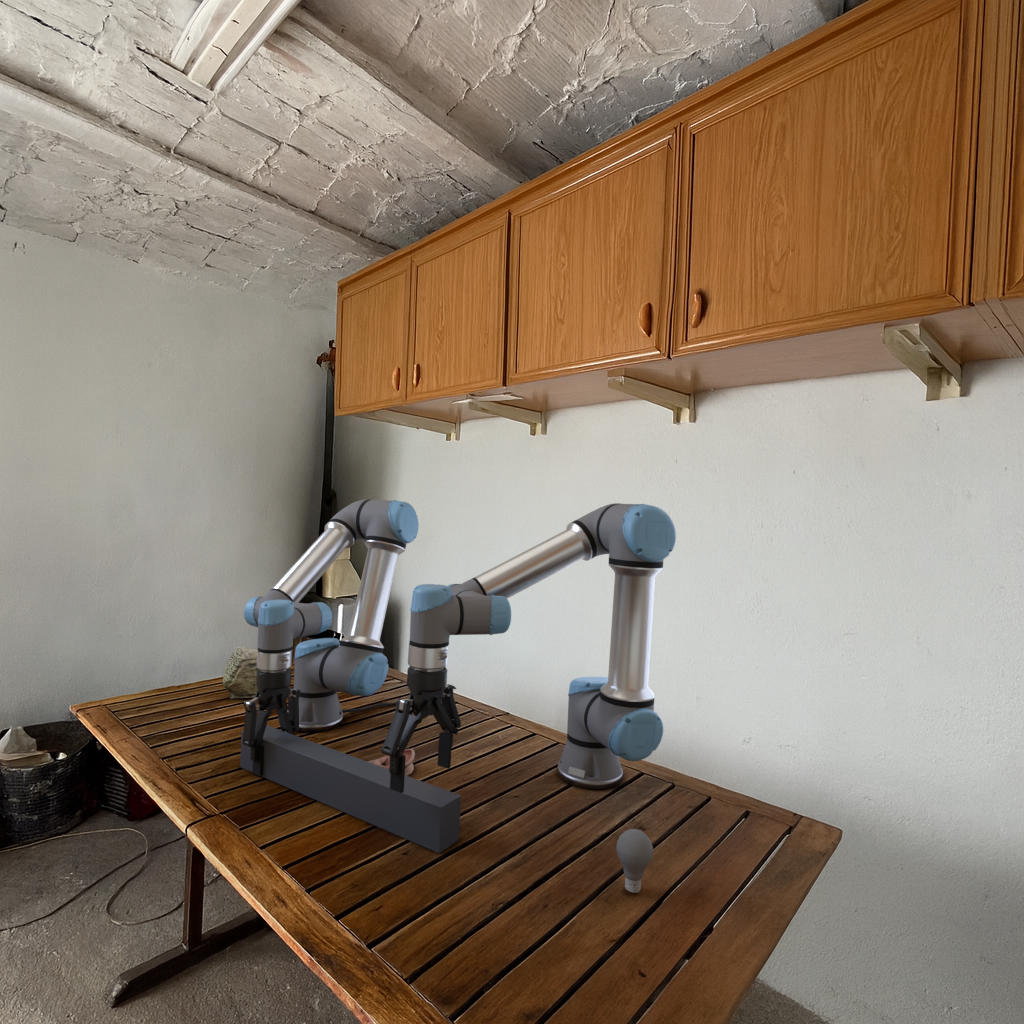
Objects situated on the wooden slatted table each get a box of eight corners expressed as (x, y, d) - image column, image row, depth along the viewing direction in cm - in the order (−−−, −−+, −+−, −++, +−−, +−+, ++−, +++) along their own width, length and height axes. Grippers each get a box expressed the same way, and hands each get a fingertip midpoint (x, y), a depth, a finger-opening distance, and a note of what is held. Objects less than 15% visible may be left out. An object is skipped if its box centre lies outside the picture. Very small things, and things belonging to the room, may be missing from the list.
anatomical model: (346, 759, 143) (368, 741, 154) (346, 777, 143) (367, 757, 154) (402, 767, 140) (420, 748, 152) (401, 785, 140) (419, 764, 152)
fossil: (218, 695, 195) (220, 647, 195) (278, 685, 208) (279, 640, 207) (228, 703, 189) (230, 653, 188) (289, 692, 201) (290, 645, 201)
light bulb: (610, 879, 108) (613, 822, 108) (644, 879, 109) (647, 822, 109) (619, 902, 102) (622, 840, 102) (655, 901, 103) (658, 840, 103)
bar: (240, 767, 146) (241, 731, 146) (262, 758, 151) (263, 723, 151) (439, 853, 114) (441, 807, 114) (459, 839, 119) (461, 795, 119)
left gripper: (247, 680, 135) (243, 788, 135) (318, 663, 151) (314, 759, 151) (226, 674, 139) (222, 778, 139) (297, 658, 155) (294, 752, 155)
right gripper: (396, 684, 108) (389, 808, 108) (481, 658, 129) (475, 762, 129) (365, 675, 112) (358, 795, 112) (452, 652, 133) (446, 752, 133)
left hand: (270, 768), depth 145 cm, fingers closed on bar, 6 cm apart
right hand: (421, 778), depth 120 cm, fingers open, 13 cm apart
